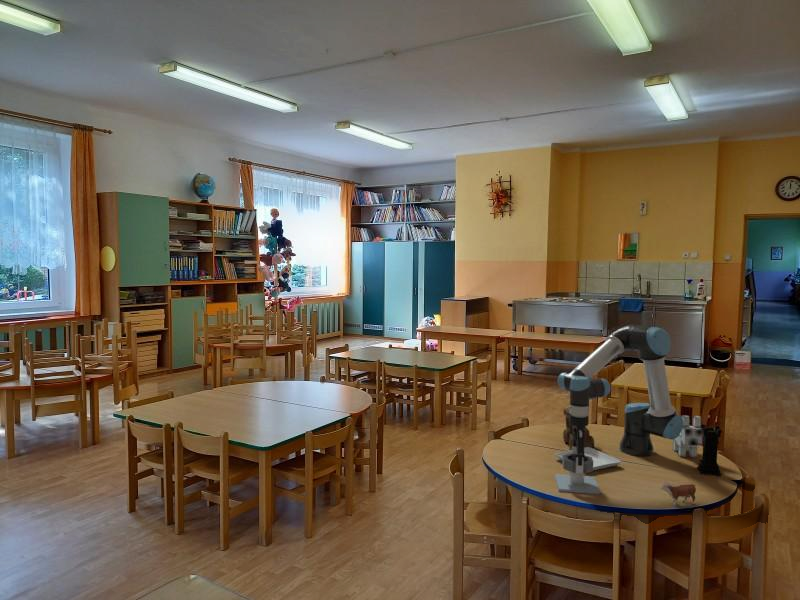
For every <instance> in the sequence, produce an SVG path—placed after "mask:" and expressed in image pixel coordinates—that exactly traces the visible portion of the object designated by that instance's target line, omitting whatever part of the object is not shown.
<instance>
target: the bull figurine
mask: <svg viewBox="0 0 800 600" xmlns="http://www.w3.org/2000/svg"><path fill="white" fill-rule="evenodd" d="M660 489H661V491H663V490H664V491H665V492H667V493H668V495H669V496H670V497H671V498H672V499H673V500H672V501H671V503H672V502H673V504H672V506H673V505H675V506H676V505H677V501H678V500H679V497H680V498H681V497H682V500H681V501H682V502H683V503H685V502H686V501H687V499H690V498H691V499H692V500H691V502H690V504H691V505H694V504H695V499H696V496H695V494H696V491H697V488H696V486H695V484H693V483H691V484H674V483H669V482H667V481H666V482H665V483H664V484H663V485H662V486H661V487H660Z"/></svg>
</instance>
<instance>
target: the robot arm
mask: <svg viewBox="0 0 800 600" xmlns="http://www.w3.org/2000/svg"><path fill="white" fill-rule="evenodd" d="M671 346H672V339H671V336H670V334H669V333H668V331H667V330H665V329H664V328H662V327H661V328H660V327H657V326H646V325H639V324H629V325H625V326H622V327H620V328H618V329H616V330H615V331H612V332H611V333H610V334H608V336H606V337H605V340H604V341H603V343H601V345H599V347H597V348H596V349H595V350H594V351H593V352H592V353H591V354H589V356H587V357H586V358H585V359H584V360H582V361H581V362H580V363H579V364H578V365H577V366H575V368H573V370H571V371H570V372H561V373H560V374H559V375H558V377H557V385H558V387H559V389H561V390H564V391H566V392H569V406H568V407H567V408H569V409H570V415H569V423H570V424H571V425H573V435H572V445H573V446H572V453H574V454H577V455H575V457H576V473H583V458H584V457H585V455H584V430H583V428H582V427H584V426H586V427H587V426H589V422H590V421H589V419H590V418H589V415H590V400H593V399H597V398H603V397H607V396H608V395H609V394H610V393H611V384H610V382H609V381H608V380H607V379H606V378H599V377H598V378H593V376H595V375H596V374H597V373H598V372H599V371H600V370H601V369H602V368H604V367H605V366H606V365H608V363H610V361H611V360H612V359H614V358H615V357H616V356H617V355H621V354H623V353H624V352H625V351H635V352H637V355H638V358H639V360H641V361H642V362H643V368H644V373H645V379H646V385H647V391H648V398H649V402H650V403H647V402H633V403H632V402H631V403H628V404H626V405H625V407H624V428H623V435H622V438H621V440H620V442H619V450H620V451H621V452H622V453H625V454H628V455H632V456H640V457H641V456H643V457H644V456H648V457H649V456H652V455H653V454H654V445H653V442H652V439H651V435H653V436H657V437H660V438H663V439H668V440H673V439H675V438H677V437H678V436H679V434H680V433H681V431H682V428H683V418H682V415H680V414H677V410H676V407H675V406H674V405H673V404H672V403H671V396H670V395H671V394H670V389H669V383H668V377H667V371H666V363H665V360H664V359H665V358H667V354H669V352H670V350H671Z"/></svg>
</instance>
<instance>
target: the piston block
mask: <svg viewBox="0 0 800 600" xmlns="http://www.w3.org/2000/svg"><path fill="white" fill-rule="evenodd" d="M554 478H555V483H556V486H557V487H556V488H557V491H558V492H560V493H561V492H564V493H577V494H588V495H589V494H590V495H591V494H592V495H602V494H601V490H600V487H599V485H598V482H597V480H596V478H595V476H590V475H589V476H587V475H586V476H585V473H573V472H570V471H569V474H562V473H561V474H559V473H554Z"/></svg>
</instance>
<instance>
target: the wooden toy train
mask: <svg viewBox="0 0 800 600" xmlns="http://www.w3.org/2000/svg"><path fill="white" fill-rule="evenodd" d="M563 415H564V416H565V427H566V428H564V429H563V433H562V437H563V442H564V443H566V444H568V445H569V449H570V450H572V446H573V445H572V435H573V425H571V424H570V423H569V415H570V409H569V408H568V407H565V408H563ZM582 428H583V430H584V448H585V447H590V448H593V449H595V439H594V437H593V436H592V435H590V430H589V429H588V428H587V426H584V427H582Z"/></svg>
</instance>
